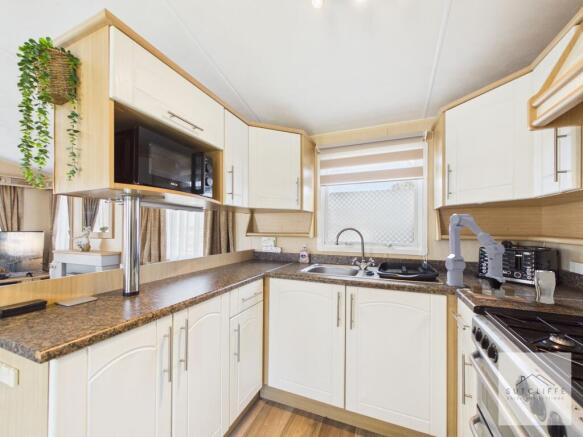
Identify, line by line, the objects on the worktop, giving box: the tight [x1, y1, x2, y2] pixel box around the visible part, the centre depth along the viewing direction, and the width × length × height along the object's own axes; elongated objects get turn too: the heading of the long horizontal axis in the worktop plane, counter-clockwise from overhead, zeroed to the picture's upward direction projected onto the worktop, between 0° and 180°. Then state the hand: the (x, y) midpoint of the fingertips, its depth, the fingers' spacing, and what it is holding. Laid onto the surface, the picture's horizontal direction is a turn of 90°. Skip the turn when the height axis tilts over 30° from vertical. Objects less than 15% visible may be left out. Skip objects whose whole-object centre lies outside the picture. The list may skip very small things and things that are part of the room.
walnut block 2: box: [500, 285, 516, 296], centre depth 126 cm, size 4×4×4 cm
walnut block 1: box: [469, 283, 483, 294], centre depth 130 cm, size 4×4×4 cm
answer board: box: [462, 287, 530, 303], centre depth 127 cm, size 20×22×1 cm
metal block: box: [490, 287, 505, 299], centre depth 121 cm, size 4×4×4 cm
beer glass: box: [533, 269, 556, 305], centre depth 115 cm, size 7×7×15 cm
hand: (495, 293), depth 124 cm, fingers closed
